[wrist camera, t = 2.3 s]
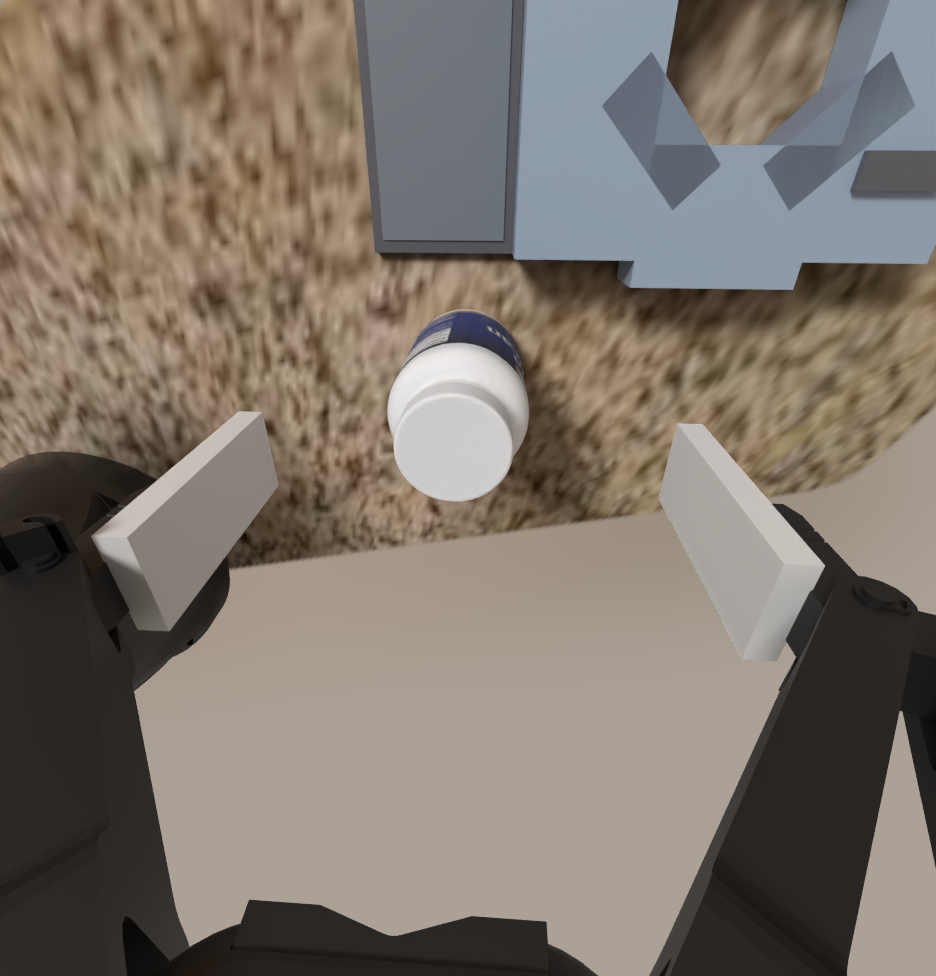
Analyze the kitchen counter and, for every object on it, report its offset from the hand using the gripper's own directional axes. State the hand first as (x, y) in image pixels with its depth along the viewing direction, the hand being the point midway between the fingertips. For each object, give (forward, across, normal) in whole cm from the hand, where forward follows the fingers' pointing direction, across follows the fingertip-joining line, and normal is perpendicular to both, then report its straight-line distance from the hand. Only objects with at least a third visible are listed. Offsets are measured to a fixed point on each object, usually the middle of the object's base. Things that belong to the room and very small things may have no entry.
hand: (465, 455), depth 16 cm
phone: (+10, -2, +11) cm, 15 cm away
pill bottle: (+10, -1, 0) cm, 10 cm away
